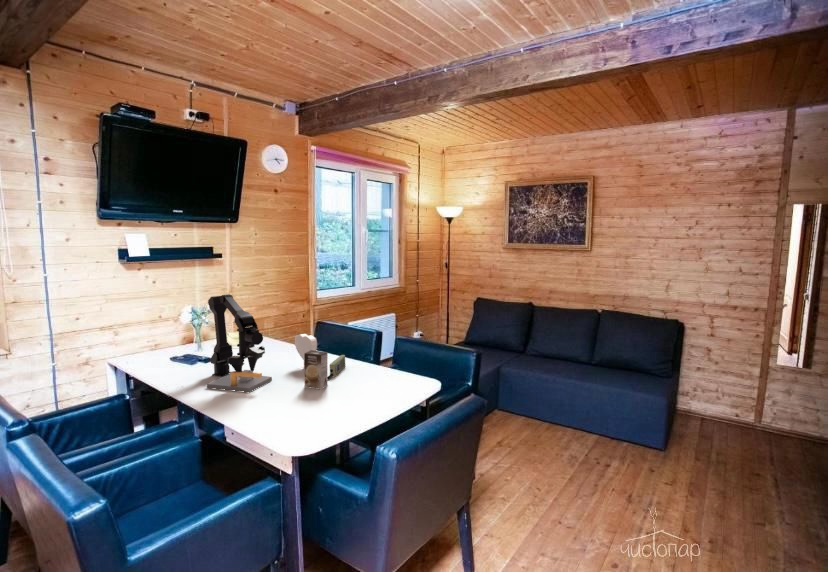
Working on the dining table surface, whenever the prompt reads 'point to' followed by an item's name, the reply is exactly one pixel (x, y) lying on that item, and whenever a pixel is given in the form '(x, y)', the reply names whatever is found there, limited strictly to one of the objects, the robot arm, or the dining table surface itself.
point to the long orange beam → (242, 374)
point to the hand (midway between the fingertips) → (246, 374)
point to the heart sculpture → (305, 344)
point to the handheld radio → (337, 366)
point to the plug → (246, 377)
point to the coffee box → (315, 369)
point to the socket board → (239, 383)
